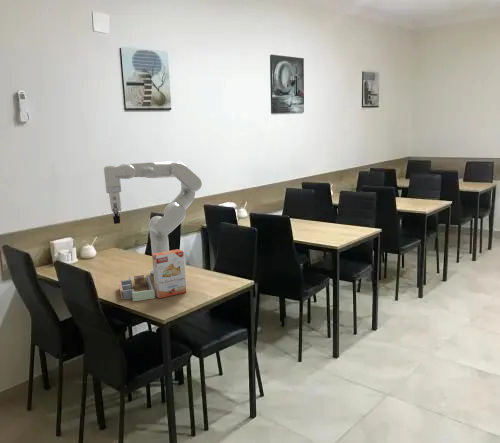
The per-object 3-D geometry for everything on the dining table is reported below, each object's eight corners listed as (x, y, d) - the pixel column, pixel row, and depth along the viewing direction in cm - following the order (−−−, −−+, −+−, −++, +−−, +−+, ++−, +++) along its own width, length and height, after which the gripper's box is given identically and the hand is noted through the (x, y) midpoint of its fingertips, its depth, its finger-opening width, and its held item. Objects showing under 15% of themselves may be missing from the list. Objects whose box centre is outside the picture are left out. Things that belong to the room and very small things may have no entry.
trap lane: (148, 282, 253) (148, 274, 252) (154, 298, 228) (154, 289, 227) (119, 286, 249) (118, 278, 248) (122, 302, 224) (121, 294, 223)
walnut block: (144, 284, 250) (143, 275, 249) (145, 287, 246) (144, 277, 245) (134, 285, 249) (133, 276, 248) (135, 288, 244) (134, 278, 243)
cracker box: (159, 299, 226) (155, 255, 222) (155, 295, 231) (151, 253, 227) (187, 292, 233) (183, 250, 229) (182, 289, 238) (178, 248, 234)
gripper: (121, 190, 244) (124, 224, 247) (120, 187, 261) (124, 218, 264) (105, 192, 242) (109, 225, 245) (106, 188, 259) (109, 219, 262)
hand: (117, 221), depth 255 cm, fingers open, 9 cm apart
